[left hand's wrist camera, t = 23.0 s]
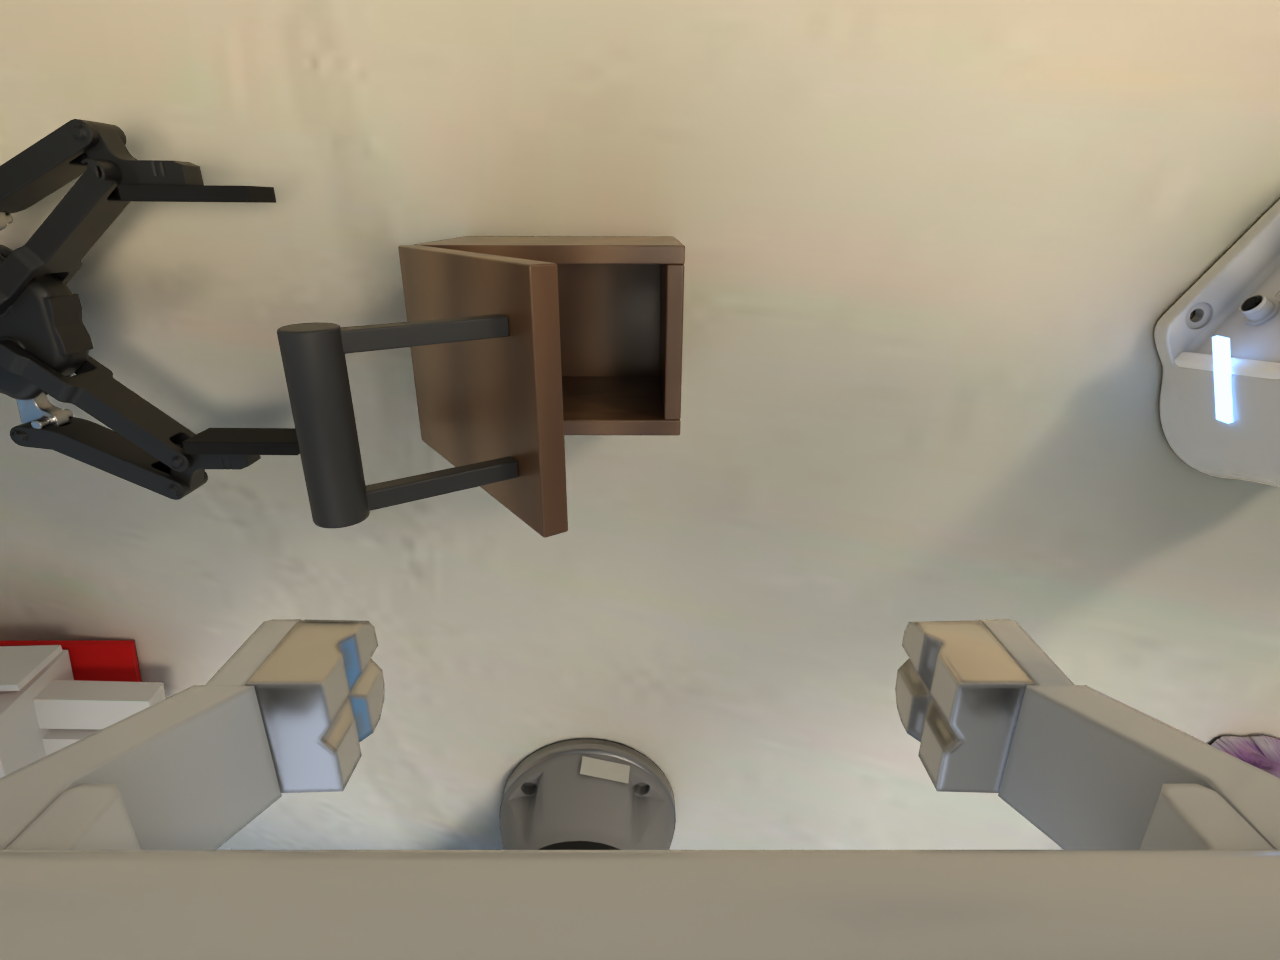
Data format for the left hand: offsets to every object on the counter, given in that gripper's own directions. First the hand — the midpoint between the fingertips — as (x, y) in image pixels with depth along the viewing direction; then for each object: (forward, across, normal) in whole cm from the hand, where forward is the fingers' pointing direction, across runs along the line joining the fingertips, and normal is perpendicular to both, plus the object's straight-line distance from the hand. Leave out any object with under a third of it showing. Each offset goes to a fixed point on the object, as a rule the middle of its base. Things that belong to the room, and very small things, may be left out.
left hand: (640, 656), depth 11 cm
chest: (+37, -4, 0) cm, 37 cm away
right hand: (+30, -20, 0) cm, 36 cm away
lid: (+20, -7, 0) cm, 21 cm away
